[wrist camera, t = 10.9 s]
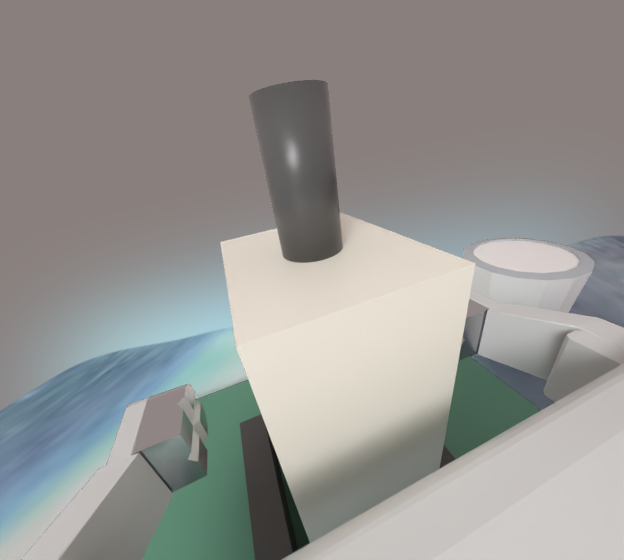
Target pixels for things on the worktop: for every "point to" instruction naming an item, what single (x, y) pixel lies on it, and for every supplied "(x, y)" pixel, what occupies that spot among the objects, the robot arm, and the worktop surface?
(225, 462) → the circuit board
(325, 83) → the plug
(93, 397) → the worktop surface
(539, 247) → the white cup
